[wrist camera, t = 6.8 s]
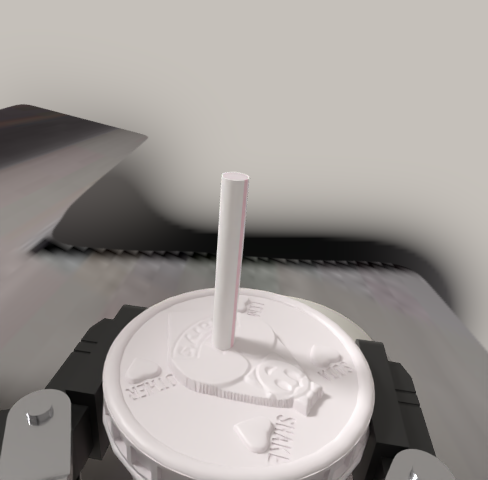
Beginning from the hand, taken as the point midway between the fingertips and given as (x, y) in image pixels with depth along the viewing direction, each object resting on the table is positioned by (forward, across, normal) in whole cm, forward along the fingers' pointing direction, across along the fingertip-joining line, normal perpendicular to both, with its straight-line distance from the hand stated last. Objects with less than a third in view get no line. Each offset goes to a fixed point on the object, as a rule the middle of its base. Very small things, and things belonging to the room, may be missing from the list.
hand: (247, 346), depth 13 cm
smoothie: (-2, 0, +8) cm, 9 cm away
